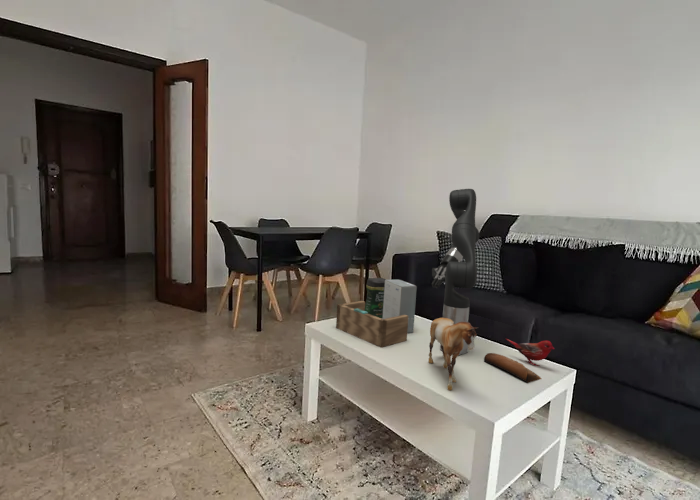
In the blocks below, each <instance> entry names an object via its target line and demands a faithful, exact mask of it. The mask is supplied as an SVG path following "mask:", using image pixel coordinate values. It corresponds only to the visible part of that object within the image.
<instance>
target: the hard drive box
mask: <svg viewBox="0 0 700 500" xmlns="http://www.w3.org/2000/svg"><path fill="white" fill-rule="evenodd" d="M417 289H418V286H417V285H415V284H412V283H410V282H407V281H404V280H402V279H386V280H385V287H384V301H383V317H382V318H381V319H386V318H391V317H396V316H401V315H407V316H408V330H407V334H409V333H414V329H415V328H414V327H415V313H416V301H417V299H416V298H417Z"/></svg>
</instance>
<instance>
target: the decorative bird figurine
mask: <svg viewBox="0 0 700 500" xmlns="http://www.w3.org/2000/svg"><path fill="white" fill-rule="evenodd" d="M505 340H506V341H507V342H508V343H510V344H511V345H513V347H515V348H516V350H517V351H518V352H519V354H521V355H522V356H524V357H525V358H526V361H525V362H526V363H528V364H531V365H533V366H538V367H540V364H537V363H536V362H535V361H537V362H538V361H543V360H544V359H546V358H547V357H548V355H549V354H550V353H551V351H552V350H555V347H554V346H553V343H552V342H551V341H550V340H541V341H539V342H535V343H534V342H533V343H532V342H523V343H517V342H515V341H512V340H510V339H508V338H505ZM533 361H534V362H533Z"/></svg>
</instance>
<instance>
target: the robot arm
mask: <svg viewBox="0 0 700 500" xmlns="http://www.w3.org/2000/svg"><path fill="white" fill-rule="evenodd" d="M448 199H449V207H450V209H451V211H452V214H453V216H454V218H455V219H456V220H455V222H454V223H453V224H452V228H451V243H452V246H451V247H450V249H449V250H448V251H447V252H446V254H445V256H444V257H443V258H442V260H441V262H440V265H438V267H432V269H431V277H432V278H433V280H432V282H431V286H432V288H436V289H438V288H440V286H441V285H442V284H444V283H445V284H444V286H445V287H444V299H443V310H442V318H448V319H451V320H452V321H453V322H454V324H456V323H458V322H468V323H469V315H470V305H471V302H470V299H469V297H467V296H465V295H463V294H461V293H459V292H457V291H456V289H455V288H464V289H472V288H474V287H475V286H476V283H477V280H478V278H477V276H478V274H477V272H478V271H477V261H476V243H478V242H479V240H480V231H479V230H478V227H476V210H477V209H476V208H477V194H476V191H475V189H473V188H462V189H461V188H459V189H455V190H452V191H450V193H449V195H448ZM462 260H464V262H463V261H462ZM463 344H464V347H463V349H462V350H461V351H460V353H459V355H458V356H460V355H463V354H466V353H468V351H469V349H468V345H467V344H466V342H465V340H464V339H463ZM439 345H440V346H439V349H440V351H442V349H441V344H440V343H439Z"/></svg>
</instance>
